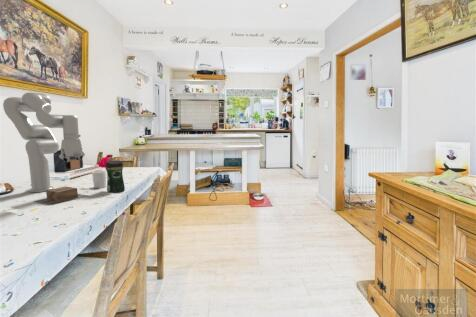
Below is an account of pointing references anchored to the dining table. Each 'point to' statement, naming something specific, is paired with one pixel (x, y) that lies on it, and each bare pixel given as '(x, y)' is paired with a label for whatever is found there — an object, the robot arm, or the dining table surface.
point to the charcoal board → (49, 202)
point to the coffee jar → (114, 176)
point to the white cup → (99, 179)
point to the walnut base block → (62, 194)
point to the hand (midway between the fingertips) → (73, 167)
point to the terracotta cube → (74, 164)
